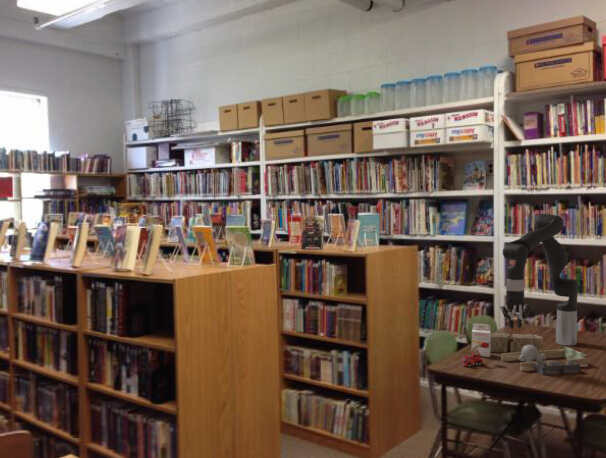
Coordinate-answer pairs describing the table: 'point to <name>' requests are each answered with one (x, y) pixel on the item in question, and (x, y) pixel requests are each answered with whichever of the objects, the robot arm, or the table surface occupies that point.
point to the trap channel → (553, 367)
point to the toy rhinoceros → (532, 355)
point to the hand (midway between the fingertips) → (515, 327)
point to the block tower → (514, 342)
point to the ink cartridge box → (481, 338)
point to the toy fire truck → (476, 357)
